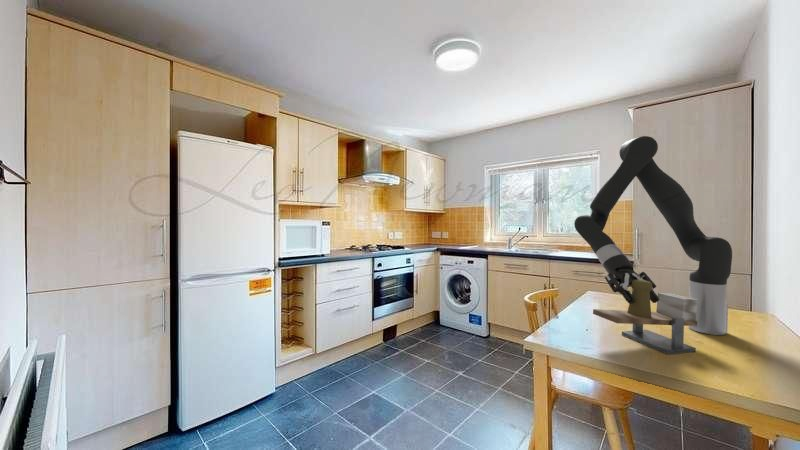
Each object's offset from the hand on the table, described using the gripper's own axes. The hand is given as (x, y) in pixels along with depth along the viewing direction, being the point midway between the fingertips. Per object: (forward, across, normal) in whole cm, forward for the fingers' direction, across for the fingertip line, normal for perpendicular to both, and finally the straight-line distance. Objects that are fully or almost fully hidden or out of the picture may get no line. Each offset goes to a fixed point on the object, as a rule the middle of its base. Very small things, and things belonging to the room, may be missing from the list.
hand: (644, 302), depth 94 cm
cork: (+2, 0, +4) cm, 5 cm away
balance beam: (+3, +1, +5) cm, 6 cm away
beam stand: (+9, +6, +11) cm, 15 cm away
